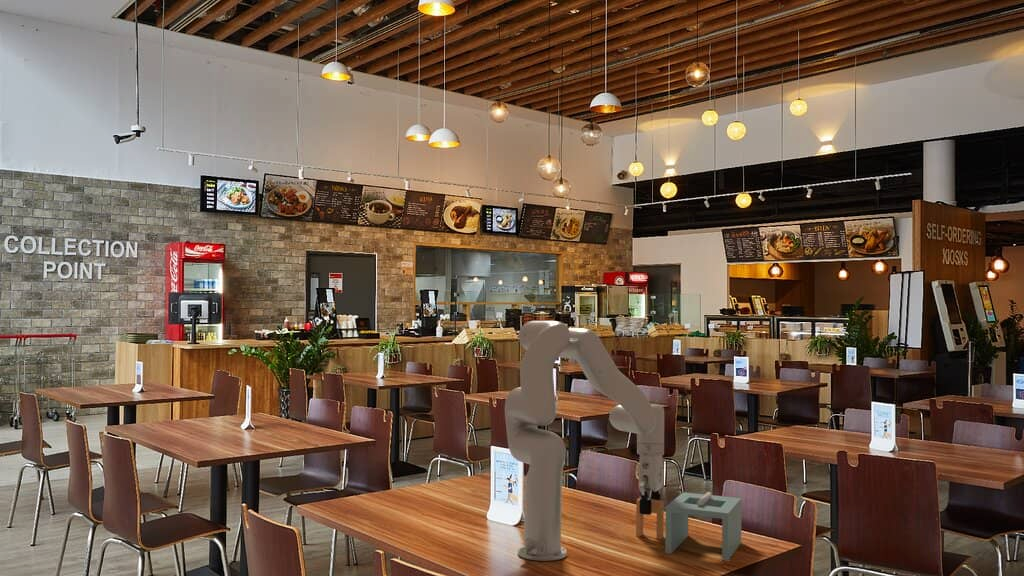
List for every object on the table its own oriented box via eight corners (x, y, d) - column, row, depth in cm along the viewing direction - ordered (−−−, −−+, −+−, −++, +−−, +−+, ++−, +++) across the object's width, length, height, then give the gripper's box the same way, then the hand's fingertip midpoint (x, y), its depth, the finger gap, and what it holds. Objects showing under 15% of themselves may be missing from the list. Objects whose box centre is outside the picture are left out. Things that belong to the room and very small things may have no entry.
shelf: (728, 561, 201) (728, 506, 202) (665, 552, 208) (665, 500, 208) (741, 542, 219) (741, 492, 220) (683, 535, 226) (683, 486, 226)
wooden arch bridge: (663, 536, 224) (663, 500, 224) (660, 539, 221) (660, 502, 221) (639, 533, 227) (639, 498, 227) (636, 536, 224) (636, 500, 224)
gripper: (655, 454, 216) (655, 518, 215) (671, 445, 231) (670, 506, 230) (628, 451, 219) (628, 515, 218) (645, 443, 234) (645, 503, 234)
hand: (650, 510), depth 224 cm, fingers open, 8 cm apart
